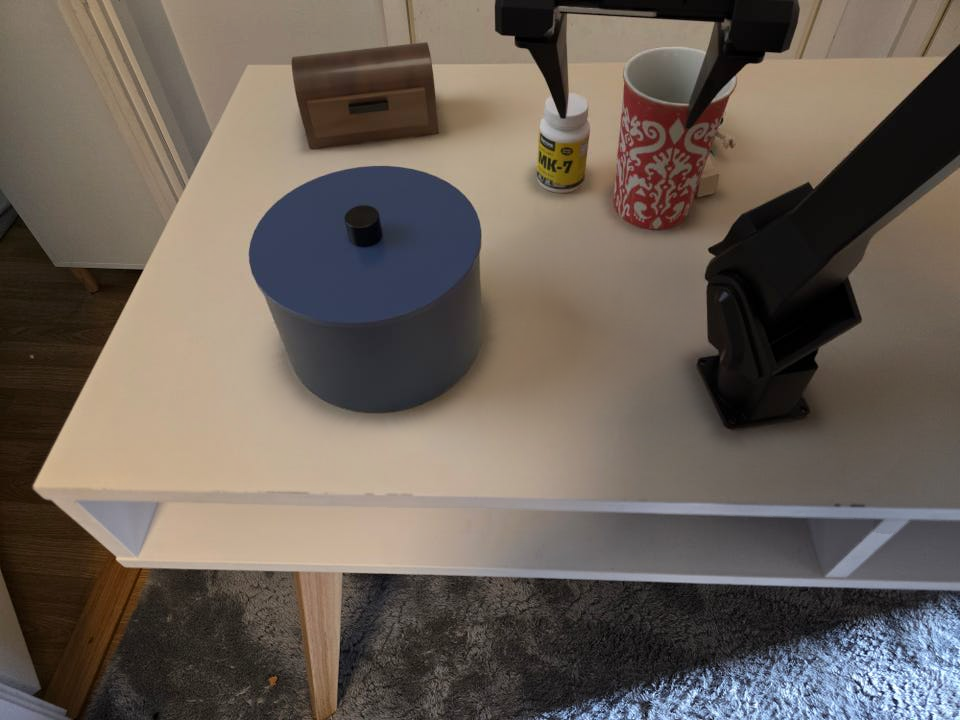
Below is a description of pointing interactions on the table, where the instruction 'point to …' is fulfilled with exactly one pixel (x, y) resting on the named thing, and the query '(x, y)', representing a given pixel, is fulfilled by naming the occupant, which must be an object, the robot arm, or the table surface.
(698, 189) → the toy figure
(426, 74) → the bread bin
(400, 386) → the pot
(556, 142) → the supplement bottle
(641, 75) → the mug
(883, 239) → the table surface
